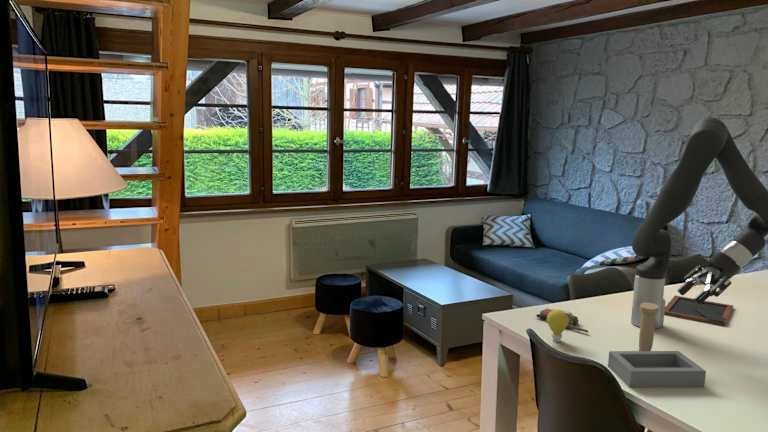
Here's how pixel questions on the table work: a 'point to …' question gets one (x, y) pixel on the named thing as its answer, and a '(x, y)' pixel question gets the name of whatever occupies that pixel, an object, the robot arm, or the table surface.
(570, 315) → the walkie-talkie
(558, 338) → the light bulb
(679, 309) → the picture frame
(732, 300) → the table surface
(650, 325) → the handle
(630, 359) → the gray rectangular tray
